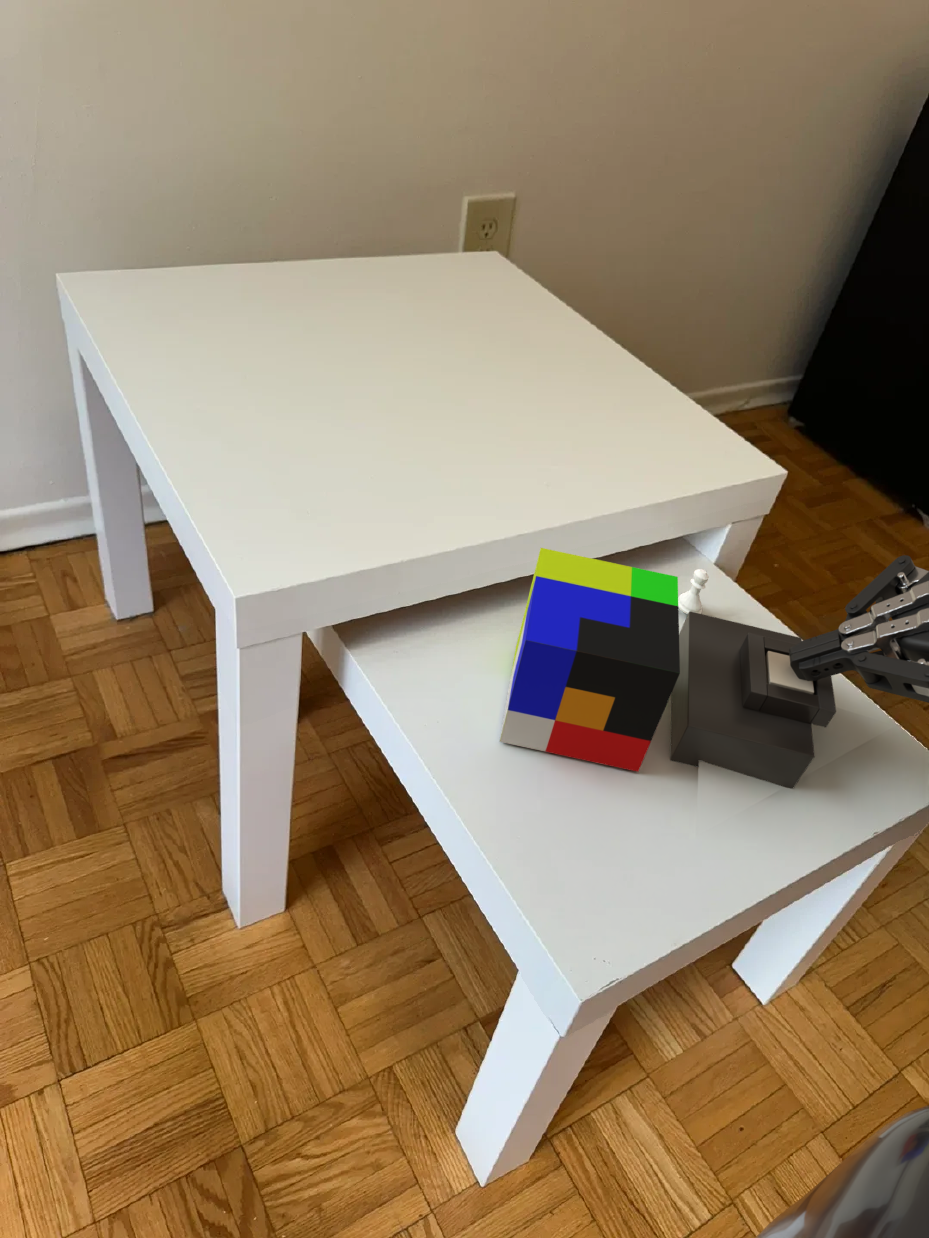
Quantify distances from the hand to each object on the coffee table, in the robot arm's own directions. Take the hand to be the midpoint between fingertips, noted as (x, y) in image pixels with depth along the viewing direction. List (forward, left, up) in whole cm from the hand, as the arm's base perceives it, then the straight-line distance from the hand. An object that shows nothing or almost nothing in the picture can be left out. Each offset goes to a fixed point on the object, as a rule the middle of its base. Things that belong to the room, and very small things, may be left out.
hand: (794, 665), depth 67 cm
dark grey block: (0, +2, -6) cm, 7 cm away
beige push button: (0, 0, -2) cm, 2 cm away
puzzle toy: (-3, +14, -6) cm, 16 cm away
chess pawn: (+11, +6, -7) cm, 14 cm away
